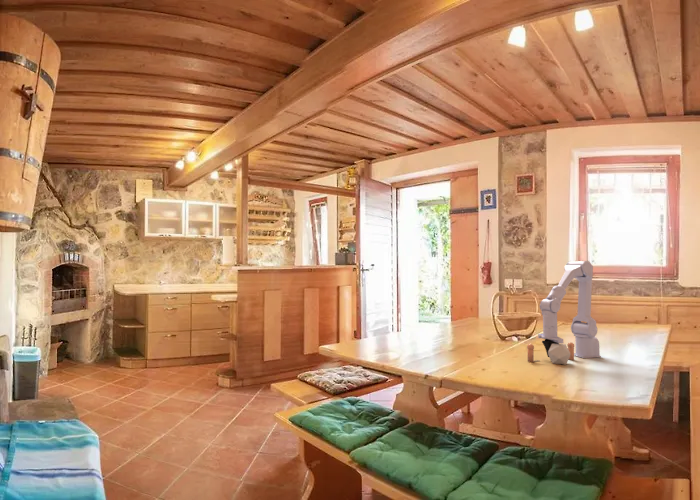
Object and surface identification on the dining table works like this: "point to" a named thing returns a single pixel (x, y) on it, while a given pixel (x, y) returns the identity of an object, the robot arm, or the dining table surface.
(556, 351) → the die
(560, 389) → the dining table surface
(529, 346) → the pair of orange pieces
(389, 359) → the dining table surface
